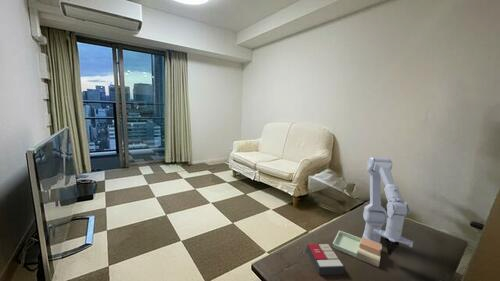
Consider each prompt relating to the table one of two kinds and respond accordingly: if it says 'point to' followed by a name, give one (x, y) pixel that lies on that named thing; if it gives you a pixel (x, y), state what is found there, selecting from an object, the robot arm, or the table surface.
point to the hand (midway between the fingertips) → (389, 253)
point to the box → (346, 243)
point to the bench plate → (368, 256)
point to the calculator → (325, 259)
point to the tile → (370, 246)
